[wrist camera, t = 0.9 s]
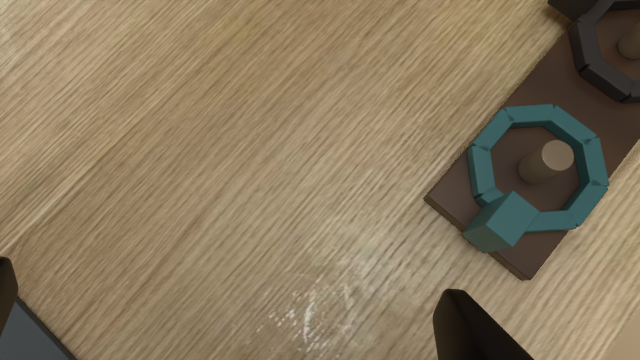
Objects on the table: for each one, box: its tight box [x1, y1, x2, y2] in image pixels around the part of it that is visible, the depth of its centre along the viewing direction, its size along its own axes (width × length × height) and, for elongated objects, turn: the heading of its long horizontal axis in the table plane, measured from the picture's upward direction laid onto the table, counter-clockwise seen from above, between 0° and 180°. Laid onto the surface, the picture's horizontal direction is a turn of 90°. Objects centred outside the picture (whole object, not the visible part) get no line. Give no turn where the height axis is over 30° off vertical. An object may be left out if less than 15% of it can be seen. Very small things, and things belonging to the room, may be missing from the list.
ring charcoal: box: [547, 0, 640, 103], centre depth 25 cm, size 9×7×4 cm
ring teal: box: [461, 104, 609, 253], centre depth 23 cm, size 9×7×4 cm
